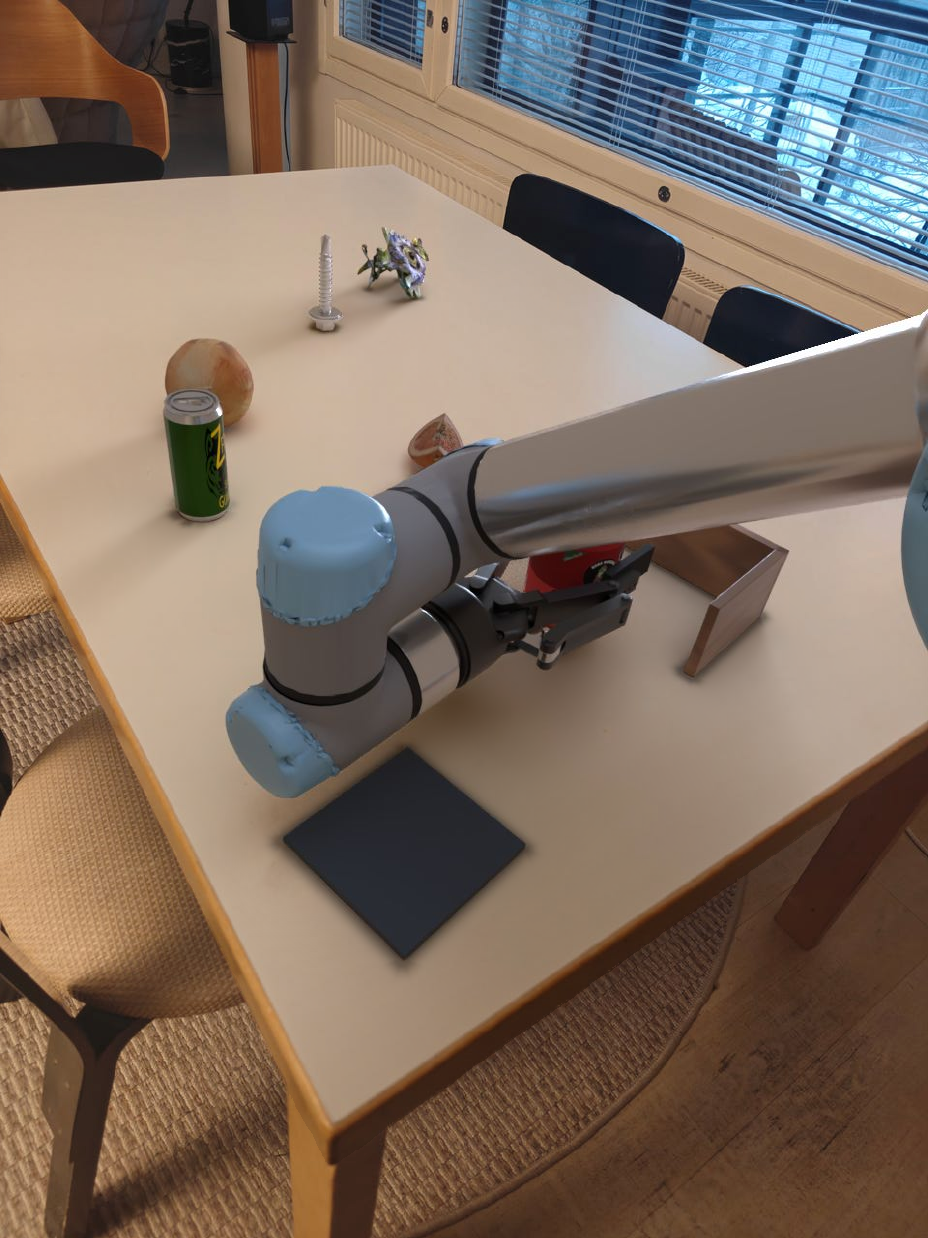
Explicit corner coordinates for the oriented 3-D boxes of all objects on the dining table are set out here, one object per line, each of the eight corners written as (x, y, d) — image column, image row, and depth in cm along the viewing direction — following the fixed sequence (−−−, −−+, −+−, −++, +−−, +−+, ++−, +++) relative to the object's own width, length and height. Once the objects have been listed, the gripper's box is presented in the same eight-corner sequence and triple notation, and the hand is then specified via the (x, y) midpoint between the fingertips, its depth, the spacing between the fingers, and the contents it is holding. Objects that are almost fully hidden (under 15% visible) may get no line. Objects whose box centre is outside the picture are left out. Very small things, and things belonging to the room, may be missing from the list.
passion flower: (412, 329, 141) (426, 286, 130) (347, 310, 139) (355, 265, 128) (424, 271, 144) (439, 224, 133) (361, 251, 142) (370, 202, 131)
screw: (304, 321, 126) (336, 319, 128) (314, 335, 123) (346, 333, 124) (303, 228, 117) (337, 227, 119) (313, 240, 114) (348, 239, 116)
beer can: (174, 524, 85) (160, 415, 78) (176, 494, 89) (162, 387, 82) (230, 522, 87) (221, 414, 79) (230, 493, 91) (221, 387, 83)
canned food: (546, 645, 73) (570, 540, 66) (505, 588, 79) (523, 485, 71) (621, 627, 76) (652, 525, 69) (577, 574, 81) (602, 474, 74)
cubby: (760, 615, 85) (789, 550, 79) (693, 677, 77) (720, 609, 72) (569, 507, 96) (583, 444, 90) (492, 551, 88) (503, 484, 83)
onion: (173, 447, 96) (163, 362, 90) (166, 405, 103) (156, 324, 97) (261, 441, 99) (257, 358, 93) (248, 400, 106) (244, 321, 100)
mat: (524, 848, 61) (526, 843, 61) (404, 960, 54) (404, 955, 54) (406, 751, 67) (407, 746, 66) (283, 841, 59) (282, 836, 59)
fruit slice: (461, 491, 96) (466, 451, 93) (401, 482, 96) (404, 443, 92) (467, 453, 102) (472, 415, 99) (411, 445, 102) (414, 407, 99)
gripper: (333, 614, 70) (513, 516, 84) (527, 763, 60) (695, 625, 74) (334, 540, 65) (525, 448, 79) (545, 688, 55) (721, 555, 69)
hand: (607, 534), depth 76 cm, fingers closed on canned food, 8 cm apart
